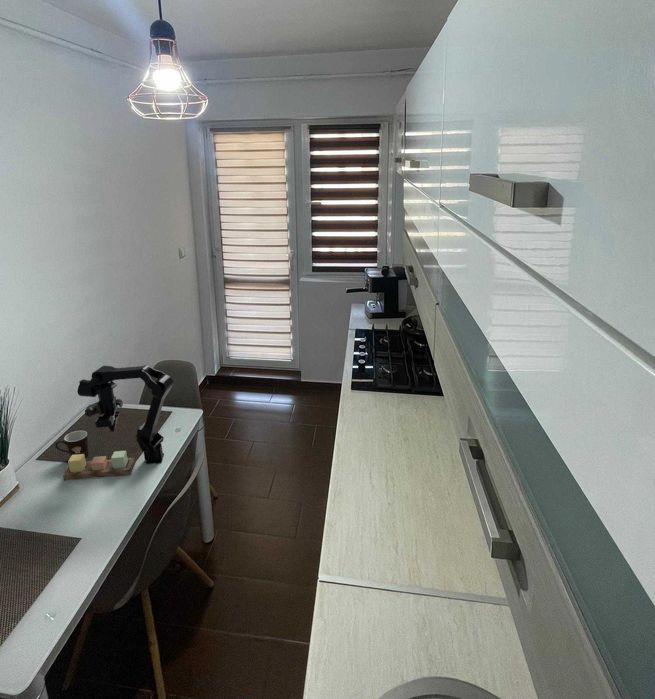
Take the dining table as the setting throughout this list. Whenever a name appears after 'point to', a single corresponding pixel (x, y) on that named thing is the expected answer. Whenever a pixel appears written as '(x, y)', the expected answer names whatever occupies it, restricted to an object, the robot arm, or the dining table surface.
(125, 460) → the mint green cube
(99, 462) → the terracotta cube
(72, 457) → the yellow cube
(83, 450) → the coffee mug
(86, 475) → the brown wooden board
